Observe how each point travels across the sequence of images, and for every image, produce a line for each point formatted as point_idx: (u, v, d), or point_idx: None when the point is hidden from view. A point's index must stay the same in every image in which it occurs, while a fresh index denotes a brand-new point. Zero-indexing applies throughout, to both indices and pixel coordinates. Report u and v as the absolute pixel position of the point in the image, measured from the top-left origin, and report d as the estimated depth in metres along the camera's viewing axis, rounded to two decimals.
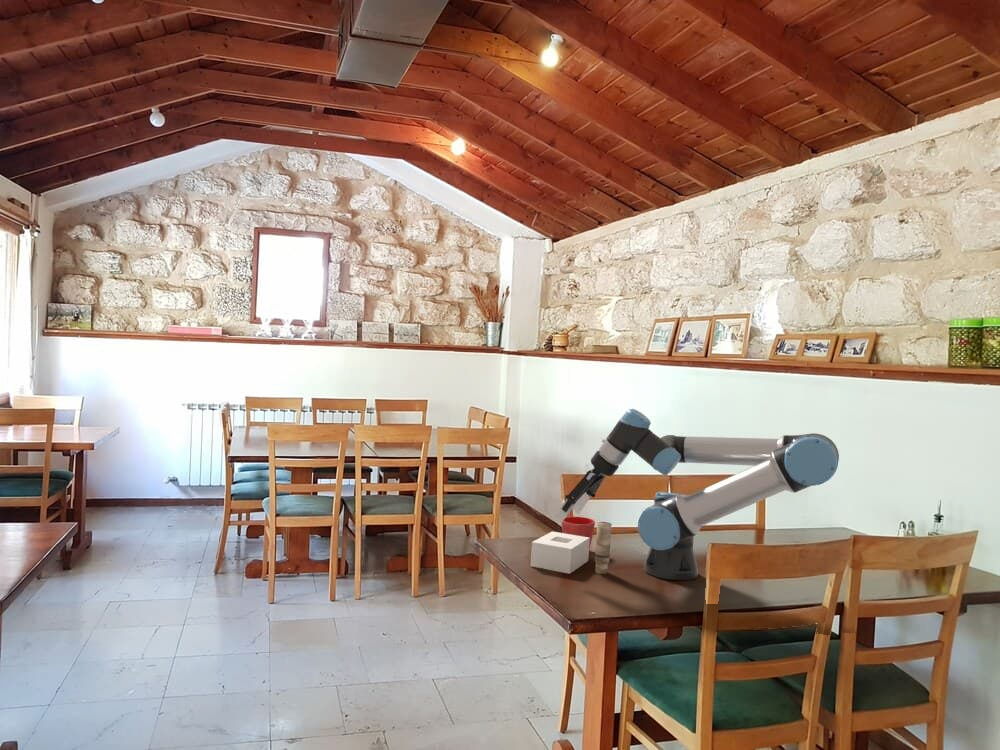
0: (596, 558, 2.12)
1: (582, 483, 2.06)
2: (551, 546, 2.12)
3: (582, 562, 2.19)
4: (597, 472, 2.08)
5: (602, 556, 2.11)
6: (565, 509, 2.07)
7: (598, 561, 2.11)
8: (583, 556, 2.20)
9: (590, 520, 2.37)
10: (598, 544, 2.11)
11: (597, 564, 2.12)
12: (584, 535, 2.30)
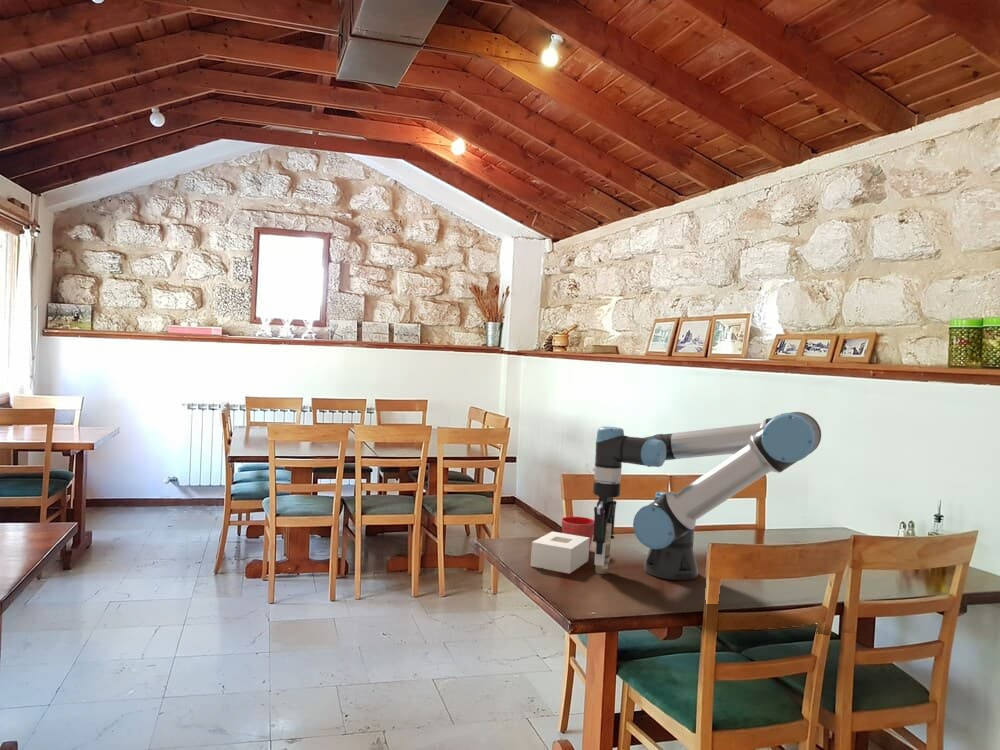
0: None
1: (596, 520, 2.07)
2: (551, 546, 2.12)
3: (582, 562, 2.19)
4: (604, 498, 2.09)
5: None
6: (599, 551, 2.09)
7: None
8: (583, 556, 2.20)
9: (590, 520, 2.37)
10: None
11: None
12: (584, 535, 2.30)
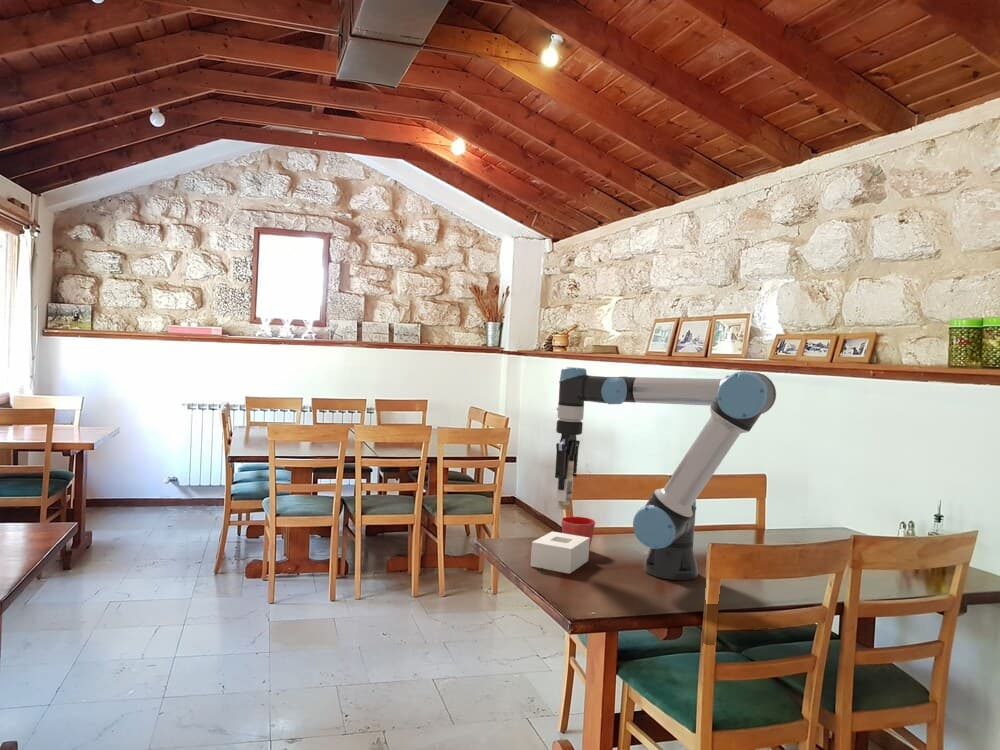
0: None
1: (558, 456, 2.13)
2: (551, 546, 2.12)
3: (582, 562, 2.19)
4: (566, 436, 2.15)
5: None
6: (561, 487, 2.15)
7: None
8: (583, 556, 2.20)
9: (590, 520, 2.37)
10: None
11: None
12: (584, 535, 2.30)
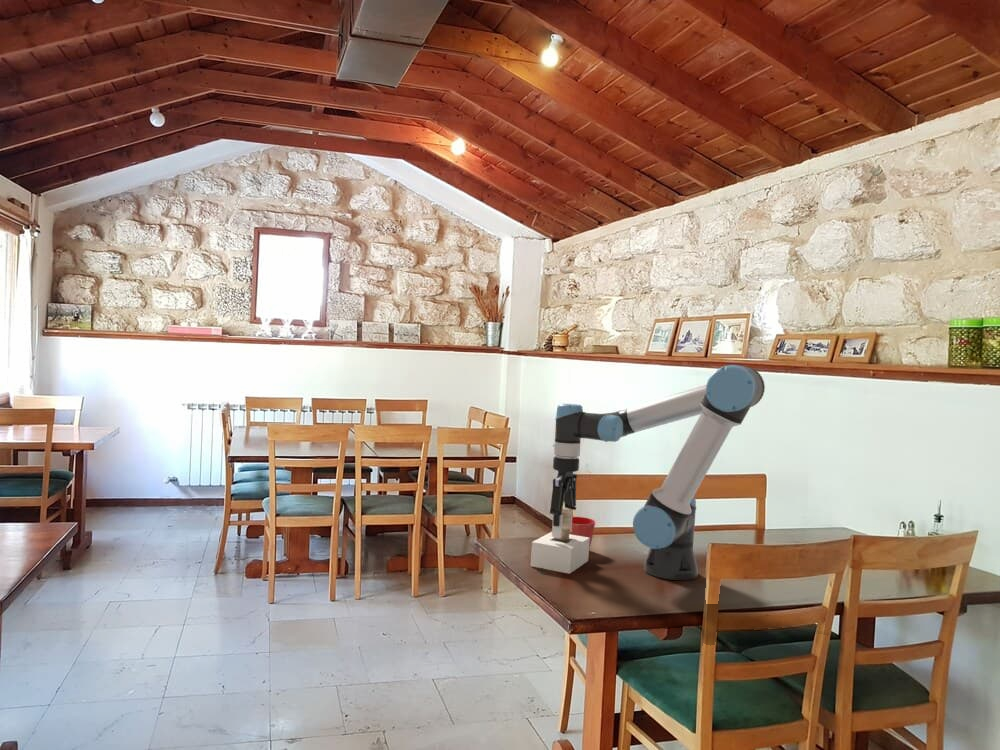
0: None
1: (554, 492, 2.13)
2: (551, 546, 2.12)
3: (582, 562, 2.19)
4: (562, 473, 2.15)
5: (561, 540, 2.17)
6: (556, 523, 2.14)
7: None
8: (583, 556, 2.20)
9: (590, 520, 2.37)
10: None
11: None
12: (584, 535, 2.30)
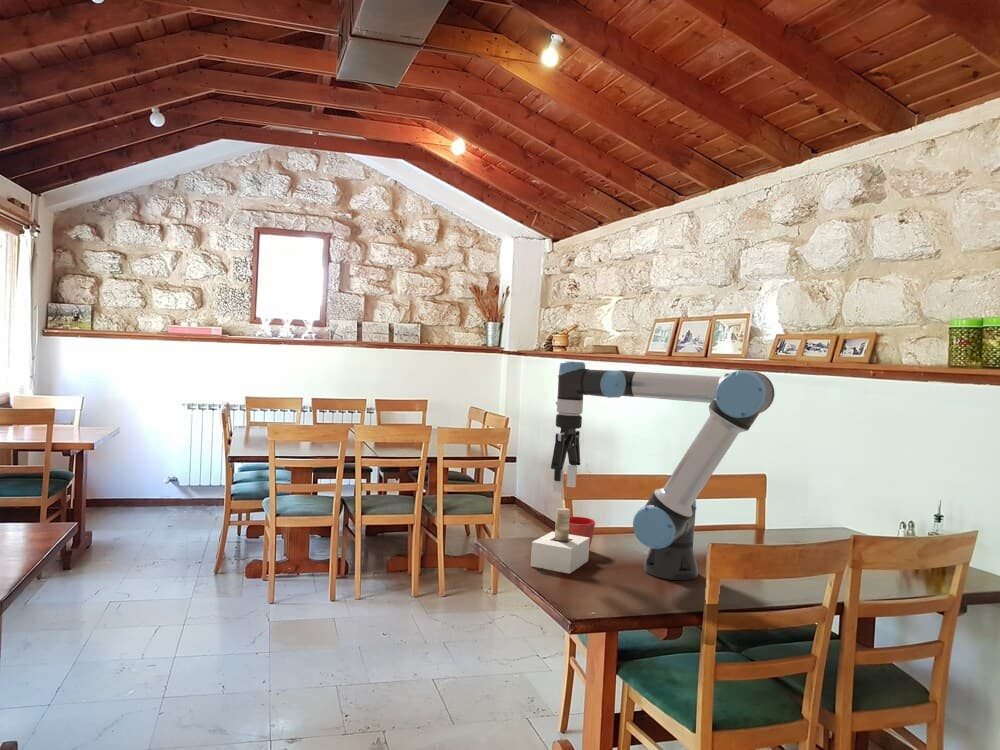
0: None
1: (556, 446, 2.12)
2: (551, 546, 2.12)
3: (582, 562, 2.19)
4: (565, 429, 2.15)
5: (560, 541, 2.17)
6: (557, 478, 2.12)
7: None
8: (583, 556, 2.20)
9: (590, 520, 2.37)
10: (557, 529, 2.18)
11: None
12: (584, 535, 2.30)
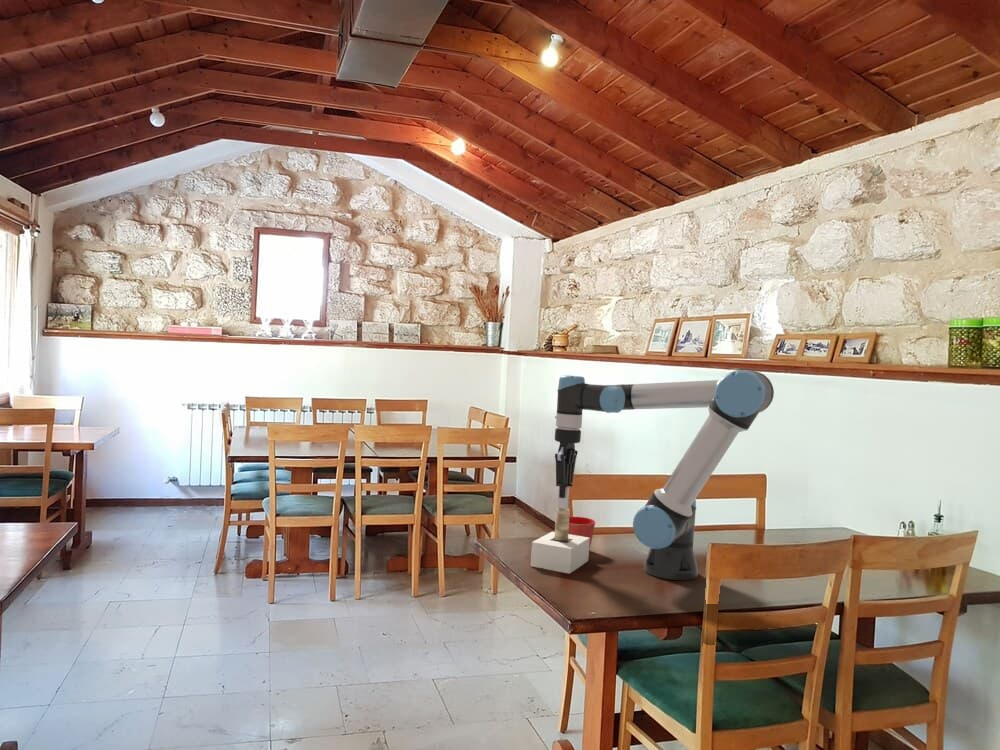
0: None
1: (558, 466, 2.14)
2: (551, 546, 2.12)
3: (582, 562, 2.19)
4: (564, 444, 2.15)
5: (560, 541, 2.17)
6: (562, 495, 2.17)
7: None
8: (583, 556, 2.20)
9: (590, 520, 2.37)
10: (556, 529, 2.18)
11: None
12: (584, 535, 2.30)
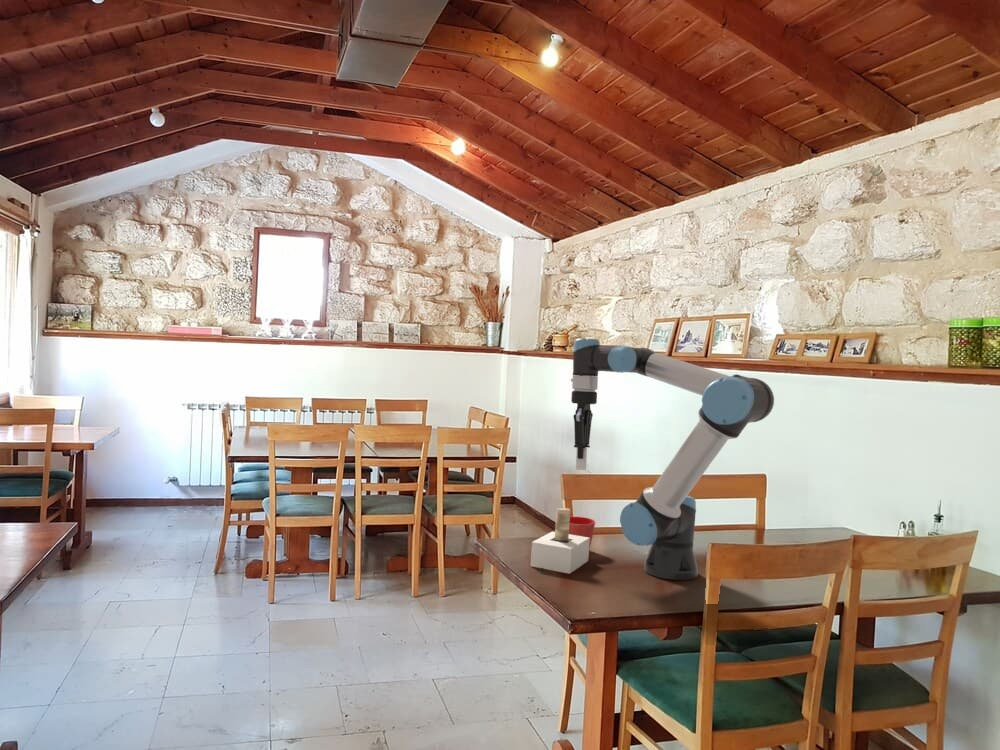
0: None
1: (576, 427, 2.18)
2: (551, 546, 2.12)
3: (582, 562, 2.19)
4: (582, 405, 2.19)
5: (560, 541, 2.17)
6: (580, 456, 2.21)
7: None
8: (583, 556, 2.20)
9: (590, 520, 2.37)
10: (557, 529, 2.18)
11: None
12: (584, 535, 2.30)
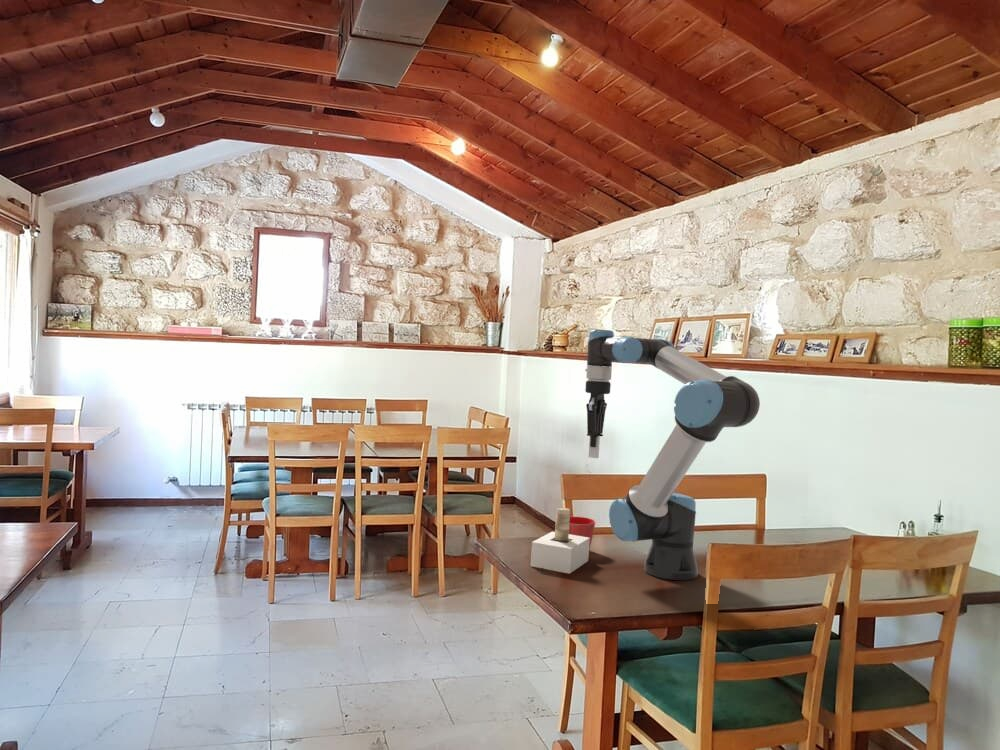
0: None
1: (589, 416, 2.24)
2: (551, 546, 2.12)
3: (582, 562, 2.19)
4: (595, 395, 2.24)
5: (560, 541, 2.17)
6: (593, 444, 2.27)
7: None
8: (583, 556, 2.20)
9: (590, 520, 2.37)
10: (557, 529, 2.18)
11: None
12: (584, 535, 2.30)
